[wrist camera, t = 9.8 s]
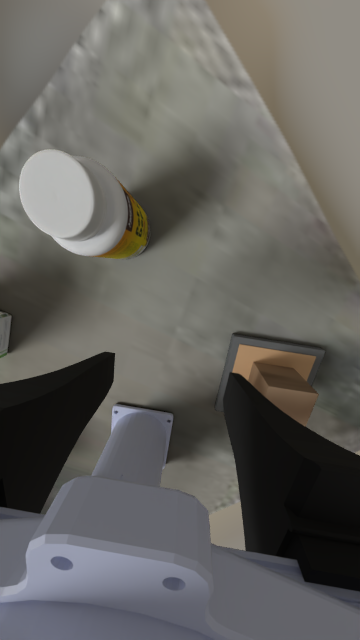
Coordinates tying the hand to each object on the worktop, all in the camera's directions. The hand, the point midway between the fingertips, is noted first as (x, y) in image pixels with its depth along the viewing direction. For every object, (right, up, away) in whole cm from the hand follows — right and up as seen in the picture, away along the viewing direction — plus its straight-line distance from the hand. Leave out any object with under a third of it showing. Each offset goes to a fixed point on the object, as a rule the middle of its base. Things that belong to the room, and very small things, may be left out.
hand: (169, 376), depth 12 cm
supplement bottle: (-5, +13, +8) cm, 16 cm away
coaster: (+11, -4, +11) cm, 16 cm away
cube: (+11, -4, +10) cm, 15 cm away
